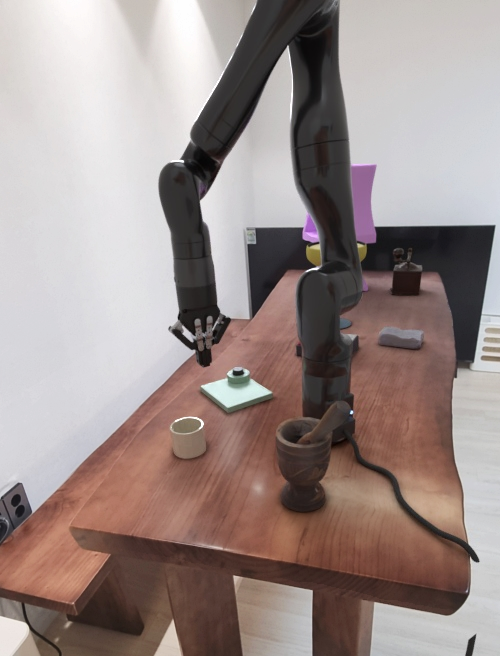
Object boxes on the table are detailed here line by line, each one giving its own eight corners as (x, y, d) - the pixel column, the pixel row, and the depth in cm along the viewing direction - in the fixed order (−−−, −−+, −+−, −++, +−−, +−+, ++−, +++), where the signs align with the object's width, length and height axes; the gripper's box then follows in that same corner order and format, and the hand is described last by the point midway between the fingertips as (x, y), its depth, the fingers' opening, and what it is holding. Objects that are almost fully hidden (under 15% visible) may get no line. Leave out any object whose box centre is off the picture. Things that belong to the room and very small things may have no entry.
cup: (212, 451, 90) (209, 427, 88) (181, 462, 87) (177, 438, 85) (197, 437, 95) (194, 413, 93) (168, 447, 92) (164, 423, 90)
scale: (273, 397, 109) (273, 386, 107) (228, 413, 103) (227, 401, 102) (242, 377, 120) (242, 366, 118) (200, 390, 114) (198, 379, 113)
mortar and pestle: (353, 490, 78) (359, 383, 68) (343, 525, 71) (348, 410, 61) (286, 478, 81) (283, 375, 72) (271, 510, 74) (265, 400, 65)
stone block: (384, 340, 142) (376, 345, 133) (386, 324, 140) (378, 328, 132) (424, 346, 137) (418, 351, 128) (427, 330, 135) (422, 334, 127)
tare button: (245, 374, 115) (245, 369, 114) (236, 377, 114) (235, 371, 113) (240, 371, 117) (239, 365, 116) (231, 374, 116) (230, 368, 115)
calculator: (308, 330, 138) (359, 332, 131) (309, 343, 139) (359, 347, 133) (295, 343, 129) (348, 346, 123) (296, 357, 131) (348, 361, 124)
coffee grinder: (390, 288, 187) (394, 241, 179) (419, 288, 184) (425, 241, 176) (388, 298, 174) (392, 249, 166) (419, 299, 171) (425, 249, 163)
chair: (303, 283, 201) (302, 167, 180) (352, 278, 204) (357, 163, 183) (318, 296, 182) (319, 168, 161) (372, 291, 185) (380, 164, 164)
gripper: (168, 290, 81) (181, 380, 89) (235, 278, 87) (242, 363, 95) (154, 282, 87) (167, 367, 95) (218, 271, 92) (225, 352, 101)
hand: (205, 365), depth 95 cm, fingers closed
